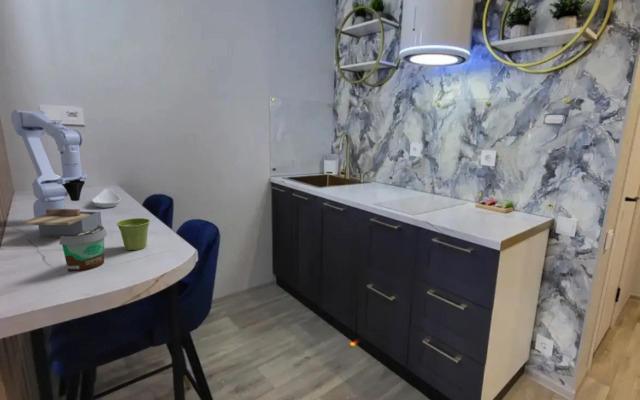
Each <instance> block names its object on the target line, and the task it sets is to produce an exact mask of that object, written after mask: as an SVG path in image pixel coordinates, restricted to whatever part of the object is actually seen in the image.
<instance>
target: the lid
mask: <svg viewBox="0 0 640 400" xmlns="http://www.w3.org/2000/svg"><path fill="white" fill-rule="evenodd" d="M80 211H81V210H80V208H65V209H47V210H46V214H44V215H41V216H38V217H36V218H34V217H33V218H30V219H28V220H24V221H21V225H23V226H25V225H27V226H28V225H29V226H30V225H31V226H33V225H34V226H35V225H36V226H37V225H38V226H39V225H70V224H73V223H75V222H77V221H80V220H82V219H84V218H87V217H89V216H90V214H80Z"/></svg>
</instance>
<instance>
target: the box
mask: <svg viewBox="0 0 640 400" xmlns="http://www.w3.org/2000/svg"><path fill="white" fill-rule="evenodd" d="M80 214H90V216H89V217H87V218H84V219H82V220H80V221H77V222H75V223H73V224H70V225H38V231H39V236H40V237H61V236H63V237H71V236H74V235H76V234H78V233H80V232H84V231H90V230H93V229H96V228H97V225H100V226H103V224H102V214H101V211H81V210H80Z"/></svg>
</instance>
